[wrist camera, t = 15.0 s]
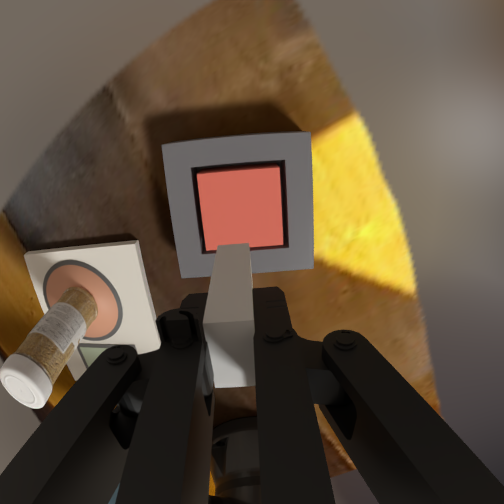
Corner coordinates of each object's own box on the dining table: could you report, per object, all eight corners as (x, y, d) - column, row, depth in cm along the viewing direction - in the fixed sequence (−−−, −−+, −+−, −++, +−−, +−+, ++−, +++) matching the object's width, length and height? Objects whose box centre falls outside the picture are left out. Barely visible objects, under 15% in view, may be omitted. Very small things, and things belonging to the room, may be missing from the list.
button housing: (306, 252, 30) (313, 268, 26) (188, 261, 30) (181, 278, 27) (302, 131, 25) (310, 132, 22) (171, 141, 26) (161, 144, 22)
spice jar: (84, 327, 31) (31, 415, 19) (56, 297, 30) (-9, 378, 18) (107, 308, 30) (52, 403, 18) (77, 276, 29) (7, 360, 17)
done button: (279, 232, 28) (283, 244, 25) (210, 237, 28) (206, 250, 25) (275, 162, 25) (279, 167, 23) (202, 168, 26) (196, 174, 23)
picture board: (174, 380, 36) (173, 386, 35) (77, 375, 36) (74, 381, 35) (138, 240, 29) (134, 244, 28) (28, 251, 29) (22, 255, 28)
